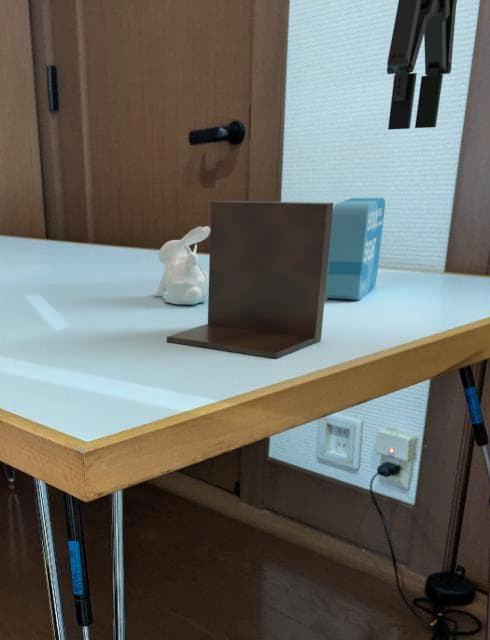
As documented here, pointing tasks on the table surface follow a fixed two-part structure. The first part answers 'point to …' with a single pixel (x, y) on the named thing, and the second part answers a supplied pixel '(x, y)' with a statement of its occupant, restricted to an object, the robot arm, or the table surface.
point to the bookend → (265, 277)
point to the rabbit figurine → (183, 270)
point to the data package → (354, 247)
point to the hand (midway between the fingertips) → (412, 128)
